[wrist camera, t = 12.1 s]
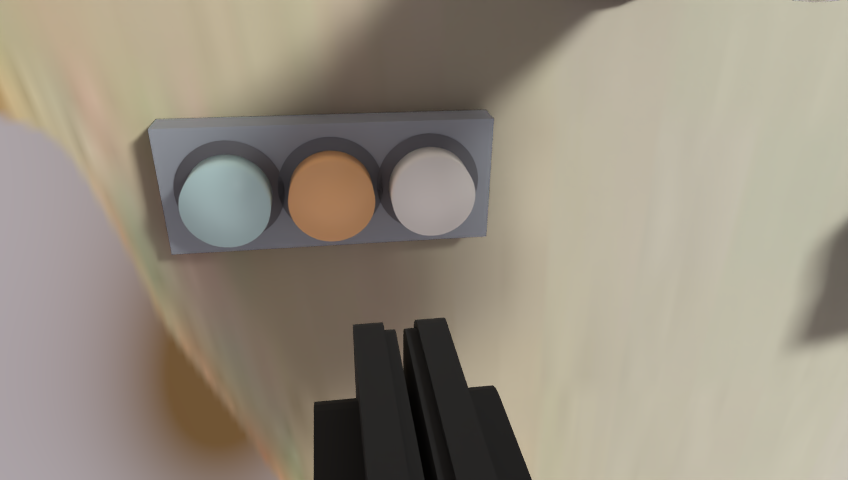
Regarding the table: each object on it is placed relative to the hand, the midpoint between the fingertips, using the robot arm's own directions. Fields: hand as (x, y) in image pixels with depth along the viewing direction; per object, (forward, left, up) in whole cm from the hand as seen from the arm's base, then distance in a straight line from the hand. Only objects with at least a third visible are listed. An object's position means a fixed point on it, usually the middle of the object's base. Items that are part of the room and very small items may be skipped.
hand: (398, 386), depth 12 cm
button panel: (+1, +7, -29) cm, 30 cm away
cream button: (-5, +7, -27) cm, 28 cm away
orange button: (+1, +7, -27) cm, 28 cm away
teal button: (+7, +7, -27) cm, 28 cm away
